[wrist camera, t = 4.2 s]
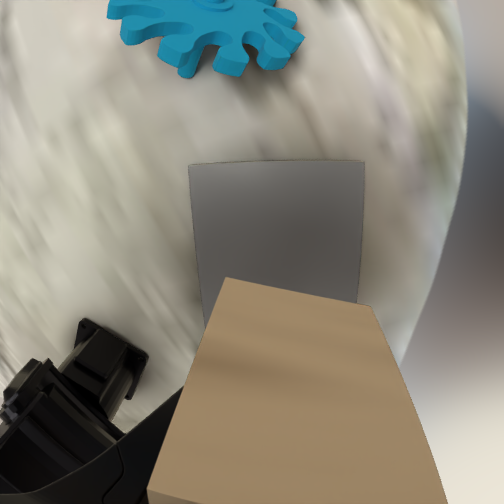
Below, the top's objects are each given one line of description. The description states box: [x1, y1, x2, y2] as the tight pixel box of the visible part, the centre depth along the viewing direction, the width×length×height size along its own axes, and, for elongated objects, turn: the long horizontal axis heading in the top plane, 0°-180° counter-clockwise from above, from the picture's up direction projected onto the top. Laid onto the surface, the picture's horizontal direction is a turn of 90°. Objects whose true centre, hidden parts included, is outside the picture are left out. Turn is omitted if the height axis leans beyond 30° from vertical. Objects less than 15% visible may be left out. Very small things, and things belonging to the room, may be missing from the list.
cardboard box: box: [147, 277, 448, 504], centre depth 7 cm, size 6×4×6 cm, turn 169°
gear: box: [107, 0, 305, 78], centre depth 14 cm, size 11×6×10 cm
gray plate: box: [188, 160, 364, 329], centre depth 20 cm, size 20×10×3 cm, turn 3°
